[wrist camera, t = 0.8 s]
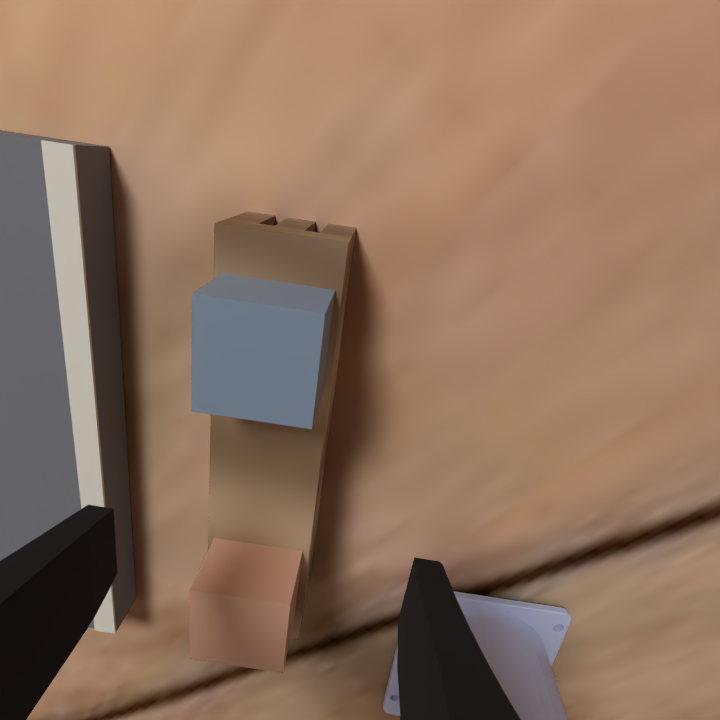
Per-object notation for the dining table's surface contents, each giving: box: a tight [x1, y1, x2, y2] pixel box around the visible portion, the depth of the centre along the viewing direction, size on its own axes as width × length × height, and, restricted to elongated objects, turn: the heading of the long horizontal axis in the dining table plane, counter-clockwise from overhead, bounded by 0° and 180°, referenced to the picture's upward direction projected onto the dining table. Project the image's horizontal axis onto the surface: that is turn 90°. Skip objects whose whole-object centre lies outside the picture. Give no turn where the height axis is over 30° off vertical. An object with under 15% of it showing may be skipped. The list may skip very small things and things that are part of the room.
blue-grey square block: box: [191, 273, 335, 429], centre depth 14 cm, size 4×4×2 cm
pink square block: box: [190, 538, 302, 673], centre depth 18 cm, size 4×4×2 cm
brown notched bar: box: [208, 212, 356, 639], centre depth 19 cm, size 17×4×4 cm, turn 172°
